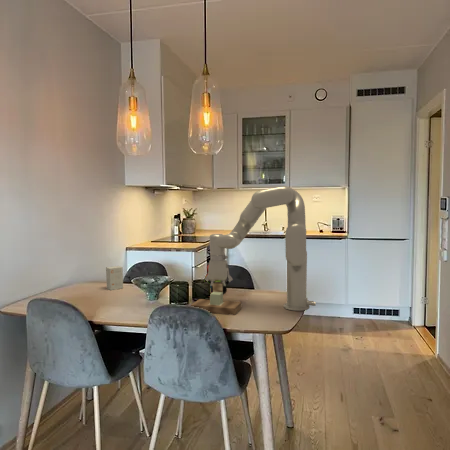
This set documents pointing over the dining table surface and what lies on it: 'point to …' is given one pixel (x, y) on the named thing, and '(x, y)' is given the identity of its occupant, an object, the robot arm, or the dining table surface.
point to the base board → (218, 306)
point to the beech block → (218, 287)
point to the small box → (114, 277)
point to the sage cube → (216, 298)
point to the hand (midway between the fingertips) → (219, 292)
